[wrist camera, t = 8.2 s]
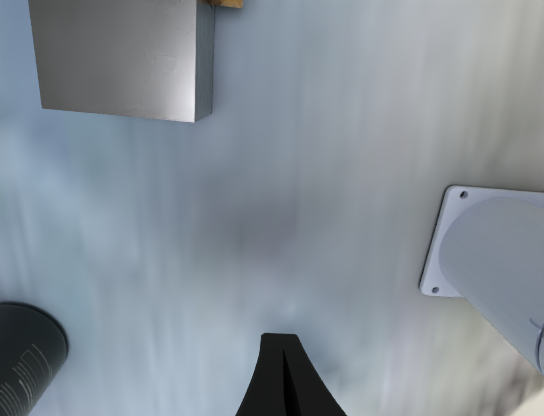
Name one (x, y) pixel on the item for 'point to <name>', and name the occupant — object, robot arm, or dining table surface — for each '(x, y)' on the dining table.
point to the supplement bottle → (27, 358)
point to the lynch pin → (227, 3)
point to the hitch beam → (125, 56)
